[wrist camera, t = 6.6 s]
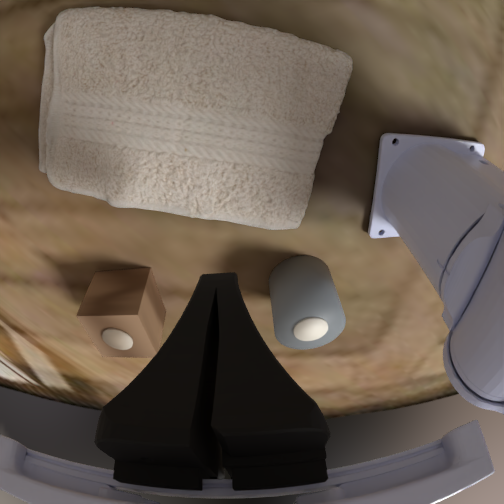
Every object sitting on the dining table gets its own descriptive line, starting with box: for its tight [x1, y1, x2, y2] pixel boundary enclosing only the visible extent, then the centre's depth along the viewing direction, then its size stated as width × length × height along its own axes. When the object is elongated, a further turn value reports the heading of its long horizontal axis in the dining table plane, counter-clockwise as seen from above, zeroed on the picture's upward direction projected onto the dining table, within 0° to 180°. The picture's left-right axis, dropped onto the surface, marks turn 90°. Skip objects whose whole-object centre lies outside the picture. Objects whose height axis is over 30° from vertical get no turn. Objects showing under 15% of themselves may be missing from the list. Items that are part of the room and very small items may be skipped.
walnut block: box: [77, 268, 166, 358], centre depth 23 cm, size 5×5×5 cm
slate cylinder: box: [269, 255, 346, 349], centre depth 23 cm, size 5×5×5 cm
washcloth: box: [39, 6, 353, 230], centre depth 16 cm, size 12×18×3 cm, turn 76°
